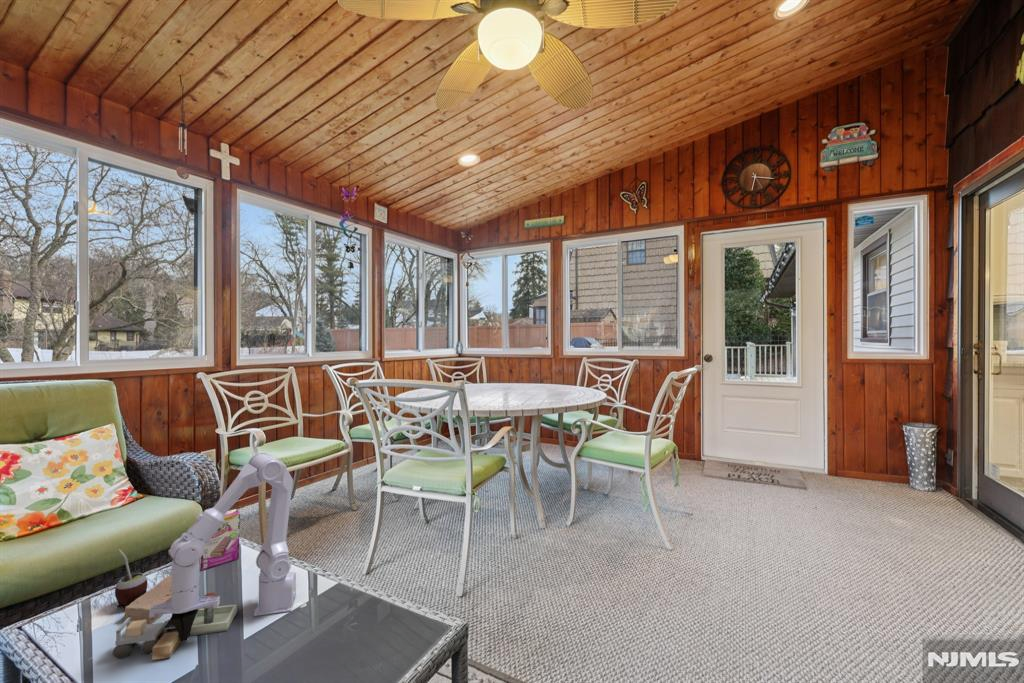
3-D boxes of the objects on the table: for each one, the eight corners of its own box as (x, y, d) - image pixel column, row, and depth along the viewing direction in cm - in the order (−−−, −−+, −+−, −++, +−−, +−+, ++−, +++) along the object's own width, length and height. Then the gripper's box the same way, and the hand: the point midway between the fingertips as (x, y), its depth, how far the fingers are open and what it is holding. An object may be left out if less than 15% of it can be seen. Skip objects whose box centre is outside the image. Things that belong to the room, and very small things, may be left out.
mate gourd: (141, 610, 125) (141, 557, 124) (105, 615, 122) (106, 561, 121) (151, 595, 131) (152, 545, 131) (118, 600, 129) (118, 549, 128)
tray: (236, 611, 125) (237, 604, 125) (227, 630, 117) (227, 622, 117) (195, 617, 122) (195, 609, 122) (183, 636, 114) (183, 628, 114)
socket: (186, 623, 119) (186, 617, 119) (179, 634, 115) (179, 627, 115) (167, 626, 118) (167, 619, 118) (160, 636, 114) (160, 630, 114)
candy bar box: (201, 571, 144) (201, 521, 144) (197, 565, 148) (197, 517, 147) (240, 559, 152) (240, 512, 152) (235, 554, 156) (236, 508, 156)
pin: (217, 617, 121) (217, 592, 121) (213, 624, 118) (213, 598, 118) (204, 619, 120) (204, 593, 120) (200, 626, 118) (200, 600, 117)
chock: (180, 642, 112) (181, 630, 113) (169, 657, 107) (170, 645, 107) (164, 644, 111) (164, 633, 112) (152, 660, 106) (152, 648, 106)
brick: (152, 625, 119) (152, 608, 119) (121, 624, 119) (121, 607, 119) (197, 589, 135) (197, 574, 135) (169, 588, 135) (170, 573, 135)
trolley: (167, 638, 113) (167, 612, 113) (157, 653, 108) (157, 625, 108) (125, 644, 111) (125, 617, 111) (112, 659, 106) (112, 631, 106)
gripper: (223, 573, 118) (223, 623, 118) (158, 581, 113) (158, 633, 114) (215, 588, 111) (214, 641, 112) (145, 597, 107) (145, 652, 107)
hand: (185, 638), depth 112 cm, fingers closed
